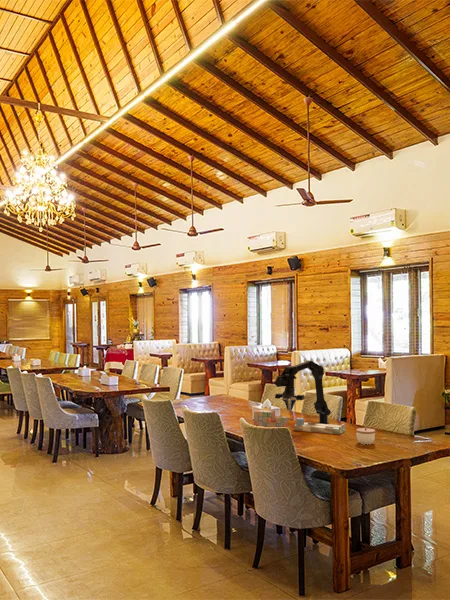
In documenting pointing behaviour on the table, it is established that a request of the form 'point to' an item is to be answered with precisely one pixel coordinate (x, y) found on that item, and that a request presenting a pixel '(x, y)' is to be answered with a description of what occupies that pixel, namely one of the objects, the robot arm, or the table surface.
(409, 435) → the table surface
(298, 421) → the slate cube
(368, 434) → the lidded jar
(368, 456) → the table surface
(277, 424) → the stack of blocks
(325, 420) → the robot arm
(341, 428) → the board
